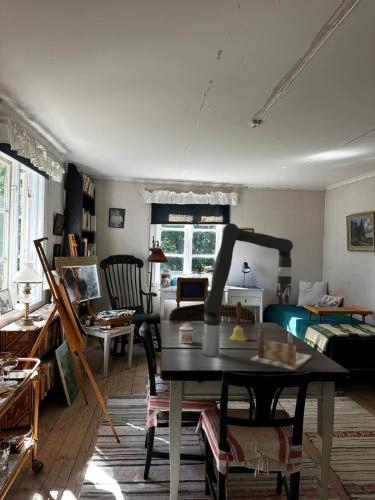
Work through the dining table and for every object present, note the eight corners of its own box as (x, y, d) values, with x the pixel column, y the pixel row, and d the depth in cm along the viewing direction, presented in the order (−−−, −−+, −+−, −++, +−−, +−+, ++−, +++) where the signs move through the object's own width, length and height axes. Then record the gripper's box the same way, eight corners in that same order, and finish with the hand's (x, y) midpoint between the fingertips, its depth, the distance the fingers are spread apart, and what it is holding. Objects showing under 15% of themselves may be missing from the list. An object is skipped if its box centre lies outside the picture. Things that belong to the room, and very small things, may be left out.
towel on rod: (250, 360, 189) (251, 330, 189) (271, 349, 211) (271, 322, 211) (294, 370, 175) (295, 338, 175) (311, 357, 197) (312, 329, 197)
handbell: (248, 337, 238) (249, 301, 238) (245, 342, 227) (246, 303, 227) (231, 335, 242) (232, 300, 242) (227, 340, 231) (228, 302, 231)
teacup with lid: (180, 344, 216) (181, 326, 216) (177, 340, 225) (177, 322, 225) (199, 344, 219) (199, 325, 219) (195, 340, 228) (195, 322, 228)
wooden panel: (263, 357, 190) (264, 329, 190) (264, 356, 192) (265, 329, 192) (294, 363, 180) (295, 334, 180) (295, 362, 182) (296, 333, 182)
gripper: (283, 274, 202) (282, 302, 202) (273, 275, 191) (272, 304, 191) (295, 275, 198) (294, 303, 198) (286, 276, 187) (285, 306, 187)
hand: (283, 304), depth 195 cm, fingers open, 8 cm apart
